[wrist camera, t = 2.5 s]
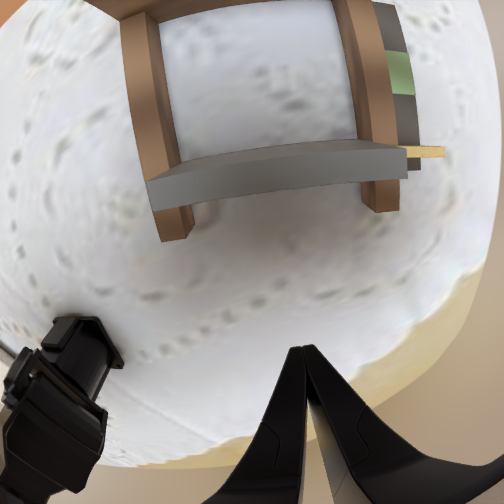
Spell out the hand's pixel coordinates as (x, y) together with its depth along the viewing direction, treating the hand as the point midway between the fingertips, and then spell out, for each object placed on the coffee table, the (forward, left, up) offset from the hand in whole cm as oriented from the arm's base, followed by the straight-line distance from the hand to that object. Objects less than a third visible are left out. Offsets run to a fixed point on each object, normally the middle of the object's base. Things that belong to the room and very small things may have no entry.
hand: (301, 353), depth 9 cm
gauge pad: (+6, -3, -9) cm, 11 cm away
